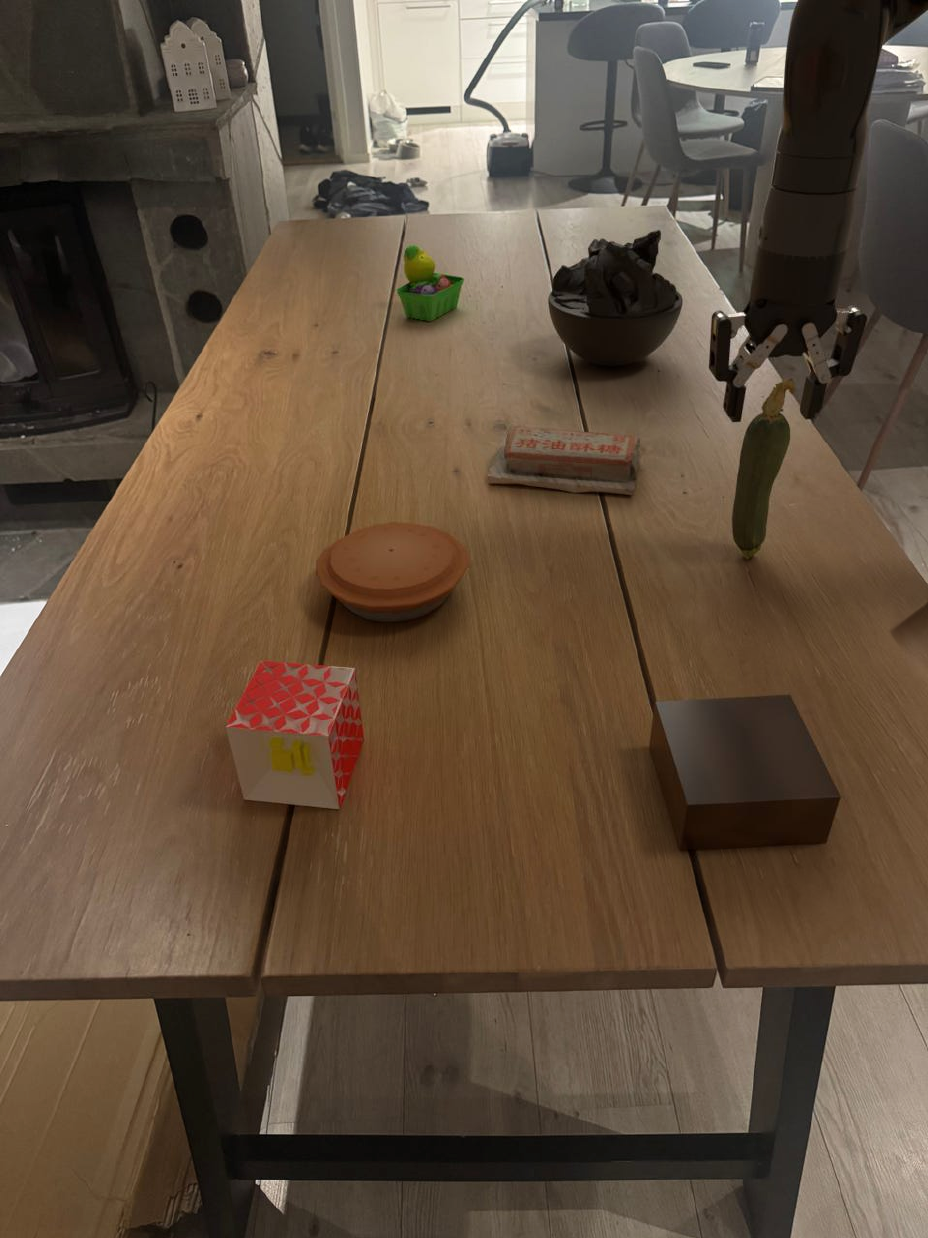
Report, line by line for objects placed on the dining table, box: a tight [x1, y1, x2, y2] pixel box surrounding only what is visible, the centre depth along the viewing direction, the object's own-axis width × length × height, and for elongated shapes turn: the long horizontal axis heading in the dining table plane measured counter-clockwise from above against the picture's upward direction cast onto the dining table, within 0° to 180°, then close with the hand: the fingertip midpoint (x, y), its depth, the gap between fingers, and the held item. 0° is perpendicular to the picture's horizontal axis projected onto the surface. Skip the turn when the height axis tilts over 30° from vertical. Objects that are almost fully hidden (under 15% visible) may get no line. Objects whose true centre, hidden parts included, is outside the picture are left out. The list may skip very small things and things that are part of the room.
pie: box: [315, 521, 470, 623], centre depth 95 cm, size 15×16×5 cm
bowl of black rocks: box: [547, 229, 683, 367], centre depth 140 cm, size 20×20×19 cm
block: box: [648, 694, 842, 852], centre depth 71 cm, size 11×11×5 cm
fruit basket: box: [396, 244, 465, 323], centre depth 163 cm, size 11×9×11 cm
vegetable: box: [731, 377, 797, 560], centre depth 94 cm, size 4×4×20 cm
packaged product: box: [487, 426, 642, 496], centre depth 115 cm, size 18×5×10 cm
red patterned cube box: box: [225, 660, 365, 810], centre depth 74 cm, size 8×8×8 cm
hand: (770, 417), depth 91 cm, fingers open, 6 cm apart
